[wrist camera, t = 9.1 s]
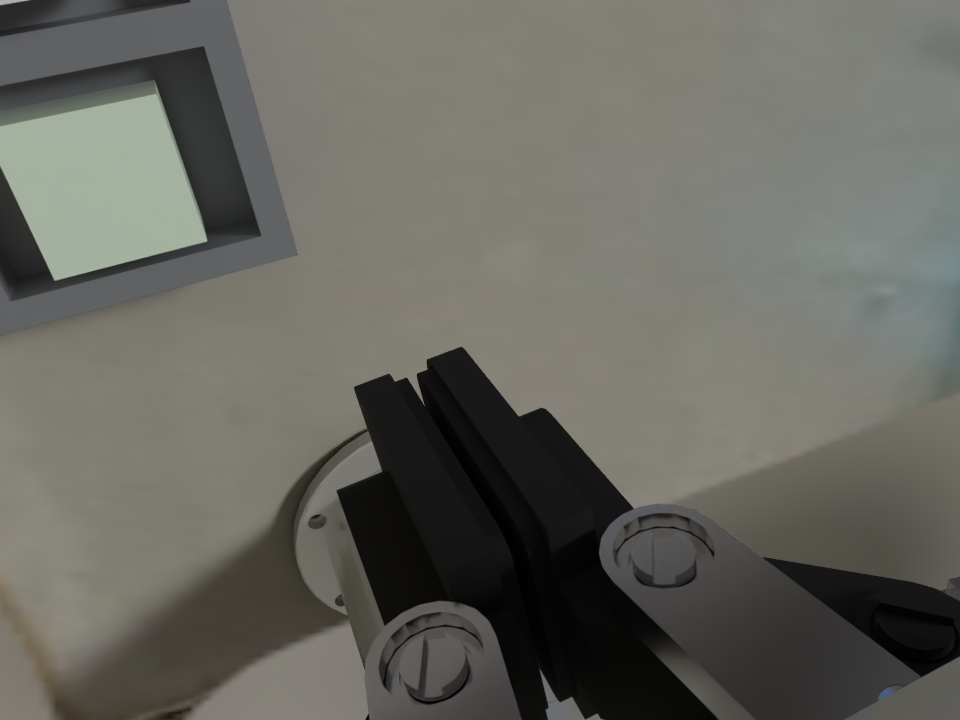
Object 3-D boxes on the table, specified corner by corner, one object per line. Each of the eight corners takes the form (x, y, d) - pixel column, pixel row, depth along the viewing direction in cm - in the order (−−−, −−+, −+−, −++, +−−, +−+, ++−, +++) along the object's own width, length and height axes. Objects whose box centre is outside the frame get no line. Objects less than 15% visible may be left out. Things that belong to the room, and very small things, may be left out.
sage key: (201, 217, 27) (207, 241, 24) (61, 252, 25) (55, 280, 23) (154, 79, 24) (156, 94, 22) (-4, 112, 23) (-17, 129, 21)
